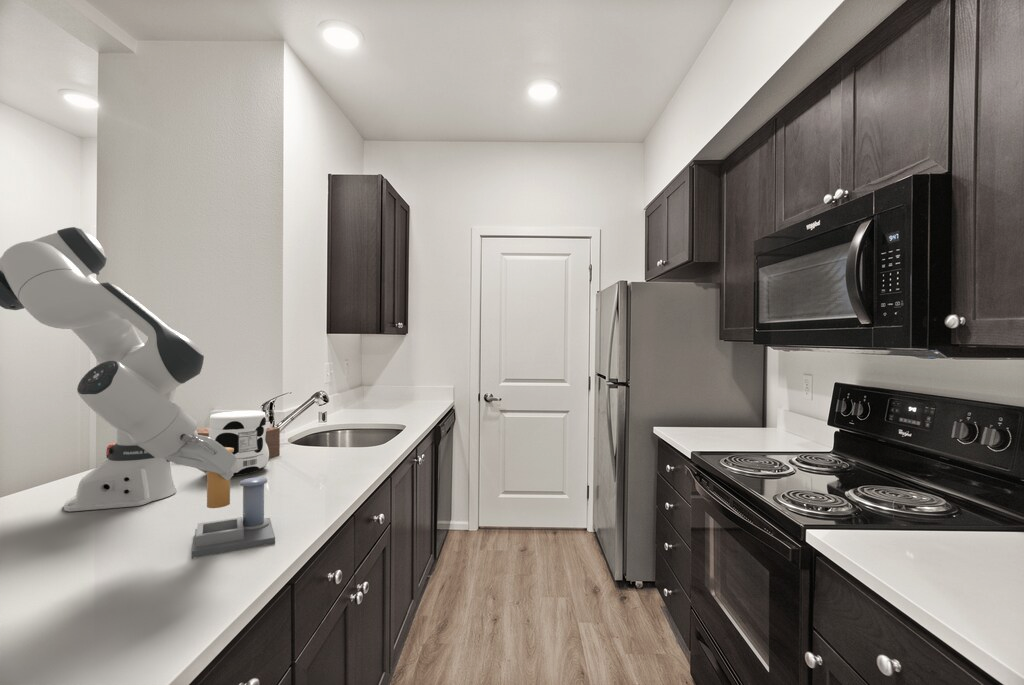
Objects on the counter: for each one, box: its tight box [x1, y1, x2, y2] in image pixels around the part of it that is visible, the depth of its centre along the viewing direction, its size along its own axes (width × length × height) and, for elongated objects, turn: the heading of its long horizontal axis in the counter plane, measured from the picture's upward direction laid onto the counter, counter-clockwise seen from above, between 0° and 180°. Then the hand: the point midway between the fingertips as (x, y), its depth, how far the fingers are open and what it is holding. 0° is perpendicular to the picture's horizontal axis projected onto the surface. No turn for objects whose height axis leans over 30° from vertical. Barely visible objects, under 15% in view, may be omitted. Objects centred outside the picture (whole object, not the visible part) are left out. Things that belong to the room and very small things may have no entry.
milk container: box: [208, 410, 270, 477], centre depth 156 cm, size 17×17×18 cm
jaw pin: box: [206, 447, 234, 509], centre depth 101 cm, size 5×5×11 cm
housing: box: [191, 476, 276, 559], centre depth 103 cm, size 14×13×11 cm
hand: (221, 474), depth 101 cm, fingers closed on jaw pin, 4 cm apart
